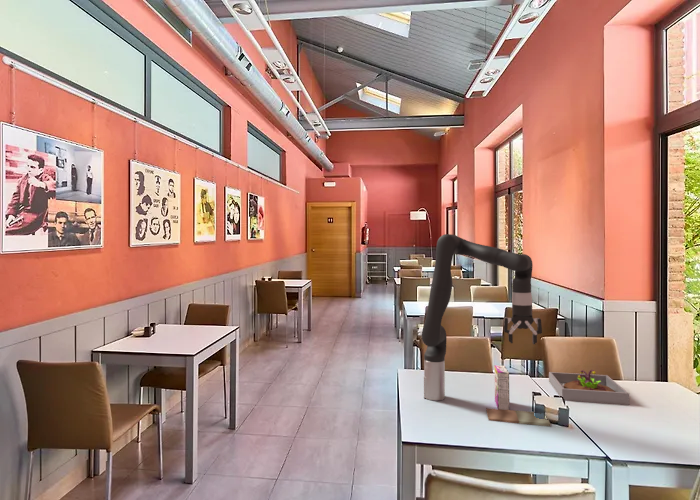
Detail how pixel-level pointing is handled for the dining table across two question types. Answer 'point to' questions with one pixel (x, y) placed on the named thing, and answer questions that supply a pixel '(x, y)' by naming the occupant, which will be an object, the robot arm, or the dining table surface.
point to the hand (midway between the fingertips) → (522, 343)
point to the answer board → (515, 417)
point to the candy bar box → (501, 387)
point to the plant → (587, 383)
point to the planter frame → (589, 395)
